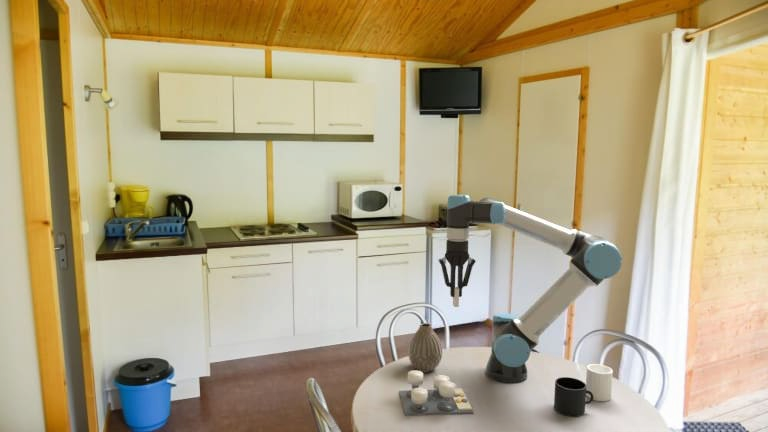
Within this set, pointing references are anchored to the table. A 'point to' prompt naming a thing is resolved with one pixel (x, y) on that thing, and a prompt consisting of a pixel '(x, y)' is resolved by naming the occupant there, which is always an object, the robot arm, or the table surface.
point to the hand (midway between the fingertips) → (455, 305)
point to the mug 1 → (570, 396)
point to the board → (436, 404)
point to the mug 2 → (599, 382)
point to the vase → (425, 349)
